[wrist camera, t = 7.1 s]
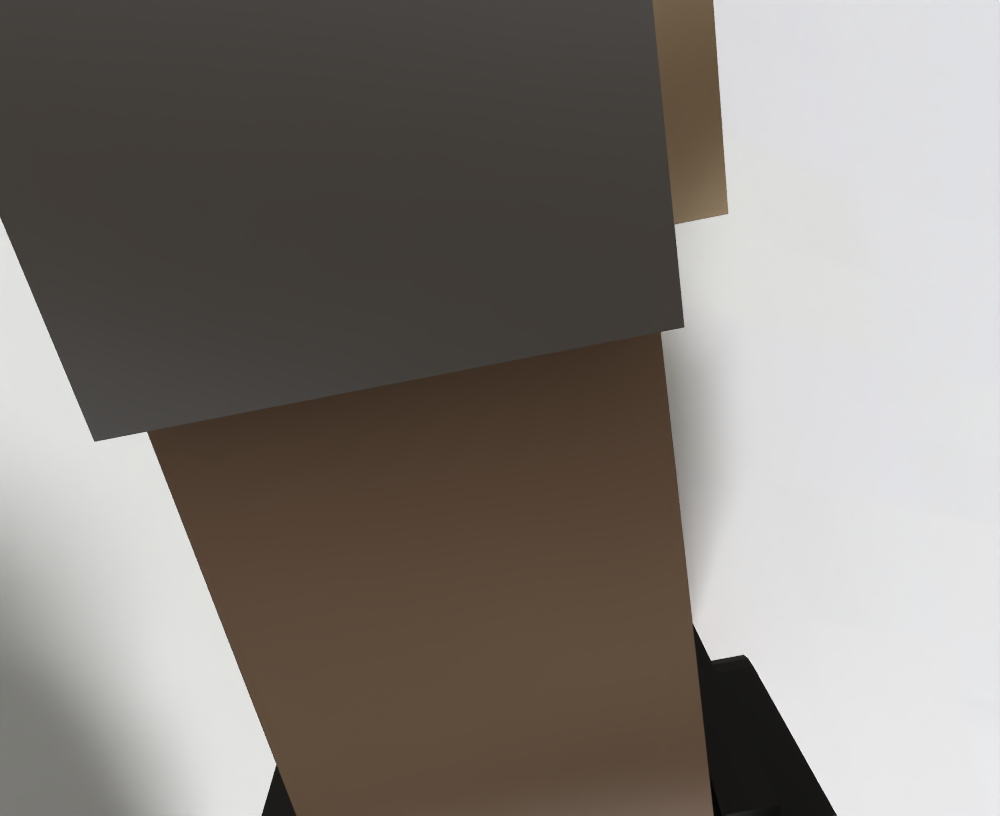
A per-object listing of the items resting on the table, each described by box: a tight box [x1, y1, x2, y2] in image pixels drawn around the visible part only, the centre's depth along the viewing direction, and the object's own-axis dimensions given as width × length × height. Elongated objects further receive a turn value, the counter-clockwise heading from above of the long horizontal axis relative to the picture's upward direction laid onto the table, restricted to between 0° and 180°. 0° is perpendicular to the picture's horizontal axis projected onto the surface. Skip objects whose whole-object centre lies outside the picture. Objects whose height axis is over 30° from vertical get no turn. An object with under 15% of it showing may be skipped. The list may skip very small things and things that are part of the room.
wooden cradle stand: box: [652, 0, 728, 224], centre depth 16 cm, size 22×8×8 cm, turn 11°
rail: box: [0, 0, 714, 816], centre depth 9 cm, size 20×4×5 cm, turn 10°
